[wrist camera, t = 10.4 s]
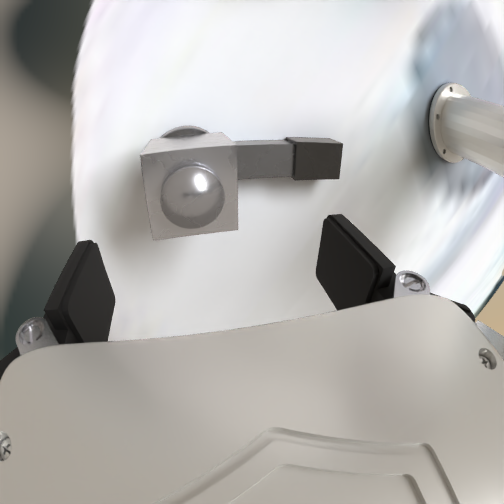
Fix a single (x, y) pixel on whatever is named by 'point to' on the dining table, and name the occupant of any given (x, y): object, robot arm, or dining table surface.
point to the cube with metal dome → (191, 185)
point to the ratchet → (282, 156)
